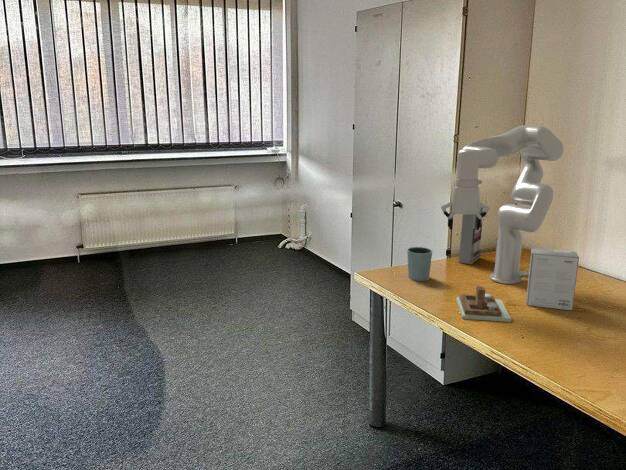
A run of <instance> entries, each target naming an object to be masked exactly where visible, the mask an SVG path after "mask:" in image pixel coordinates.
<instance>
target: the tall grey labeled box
mask: <svg viewBox="0 0 626 470" xmlns="http://www.w3.org/2000/svg"><path fill="white" fill-rule="evenodd" d="M483 211H484V208H482V207H480V212H479V214H481V213H482V212H483ZM476 218H477V216H476V214H462V219H461V233H460V234H461V235H460V243H459V245H460V246H459V255H458V263H460V264H467V265H473V264H474V263H475V262H476V261H477V260H479V259H480V258H481V257H482V256H481V252H482V249H481V240H482V230H483V221H484V220H483V219H484V217H483V218H482V219H481V227H479V230H477V229H476V228H475V225H476Z"/></svg>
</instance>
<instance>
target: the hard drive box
mask: <svg viewBox="0 0 626 470" xmlns="http://www.w3.org/2000/svg"><path fill="white" fill-rule="evenodd" d="M530 249H531V250H530V258H529V270H528V273H529V277H527V278H528V279H527V281H528V282H527V289H526V298H525V300H526V305H527V306H531V307H539V308H548V309H549V308H550V309H555V310H556V309H557V310H563V311H564V310H565V311H573V309H574V300H575V294H576V293H575V291H576V287H577V286H576V283H577V276H578V268H579V262H580V257H579V255H578V253H577V251H569V250H568V251H567V250H558V249H557V250H556V249H555V250H554V249H543V248H542V249H541V248H530Z"/></svg>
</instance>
